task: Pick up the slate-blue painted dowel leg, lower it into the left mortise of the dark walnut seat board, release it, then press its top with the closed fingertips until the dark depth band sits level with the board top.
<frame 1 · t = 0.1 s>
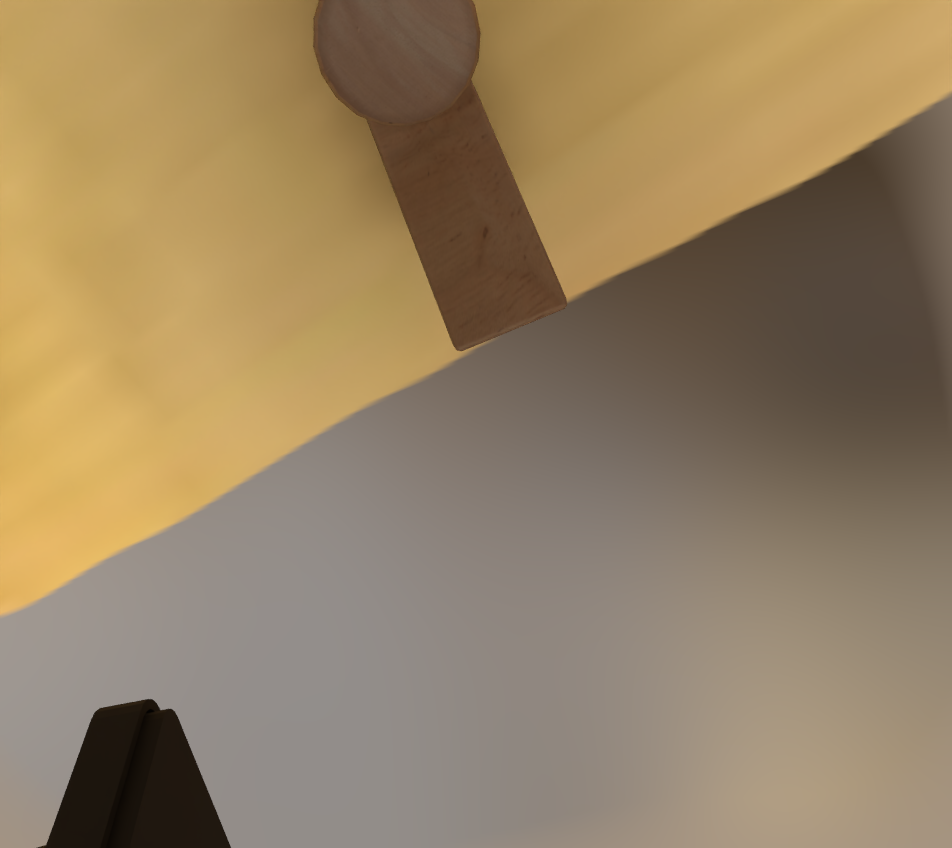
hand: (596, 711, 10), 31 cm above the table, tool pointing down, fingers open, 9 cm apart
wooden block: (416, 89, 37), on the table
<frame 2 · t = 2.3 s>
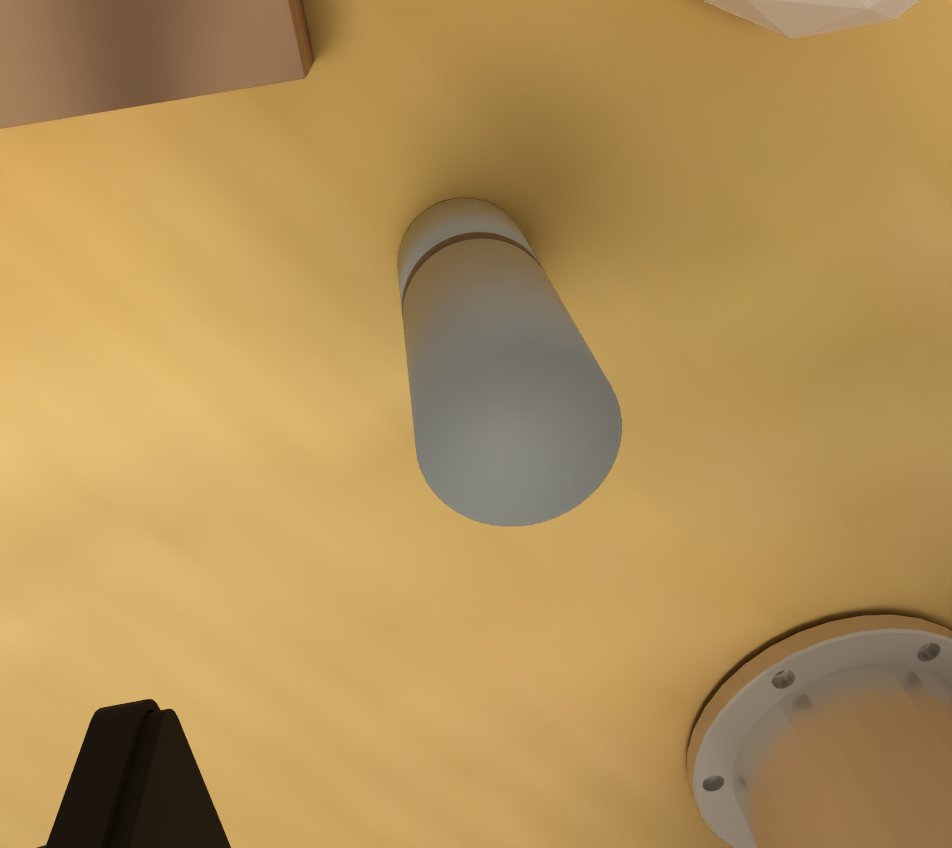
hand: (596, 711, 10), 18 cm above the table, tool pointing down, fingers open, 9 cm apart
peg: (463, 263, 26), on the table
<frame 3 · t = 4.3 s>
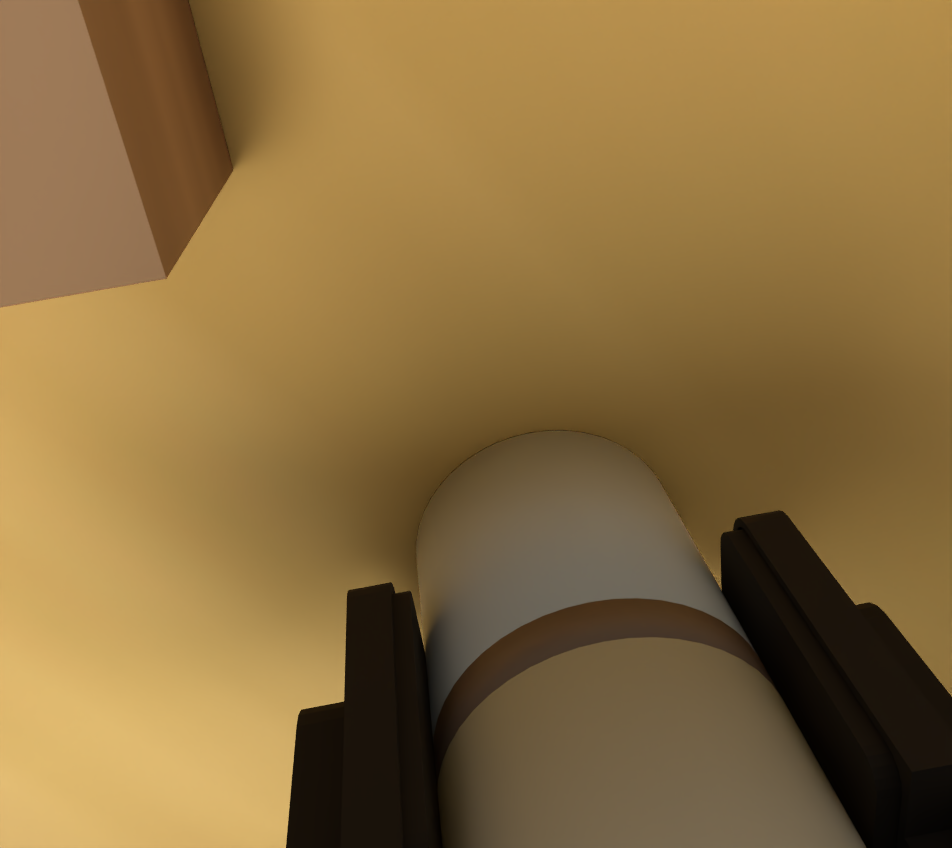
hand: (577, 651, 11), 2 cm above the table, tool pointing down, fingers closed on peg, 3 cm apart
peg: (545, 545, 13), on the table, touching gripper
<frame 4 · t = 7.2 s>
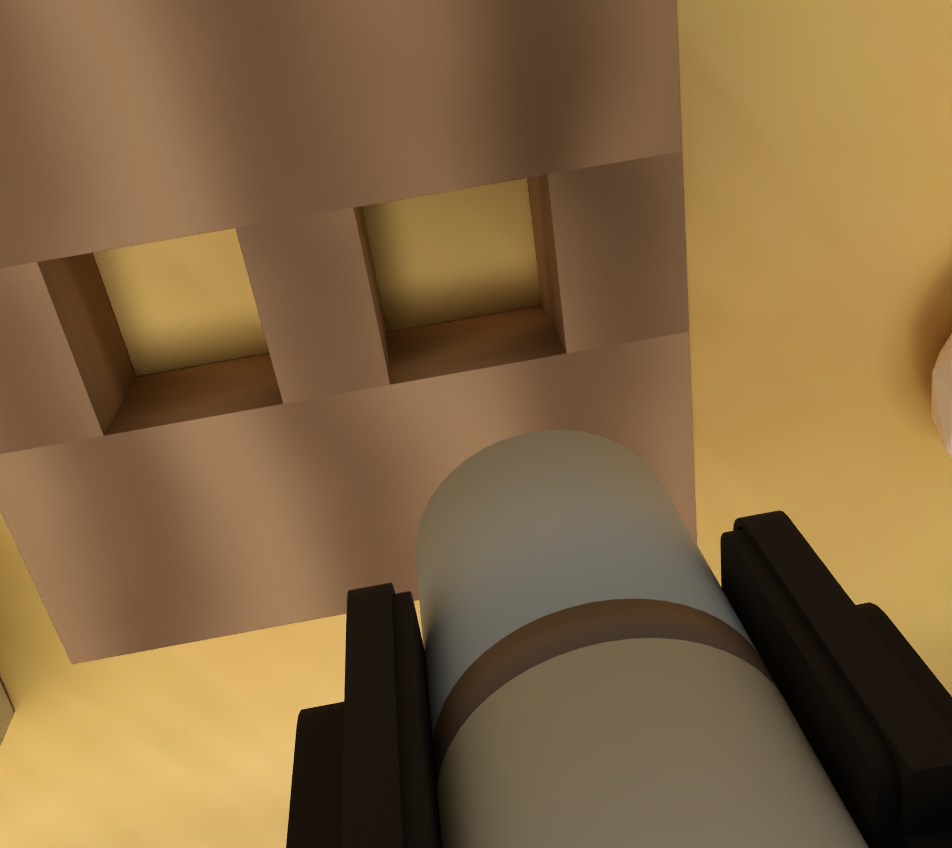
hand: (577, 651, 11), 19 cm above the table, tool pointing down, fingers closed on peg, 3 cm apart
peg: (545, 545, 13), point 16 cm above the table, touching gripper
board: (322, 265, 28), on the table
when the fingers open (4 cm above the table, at t = 9.9 s): peg drops 2 cm, resting in board.
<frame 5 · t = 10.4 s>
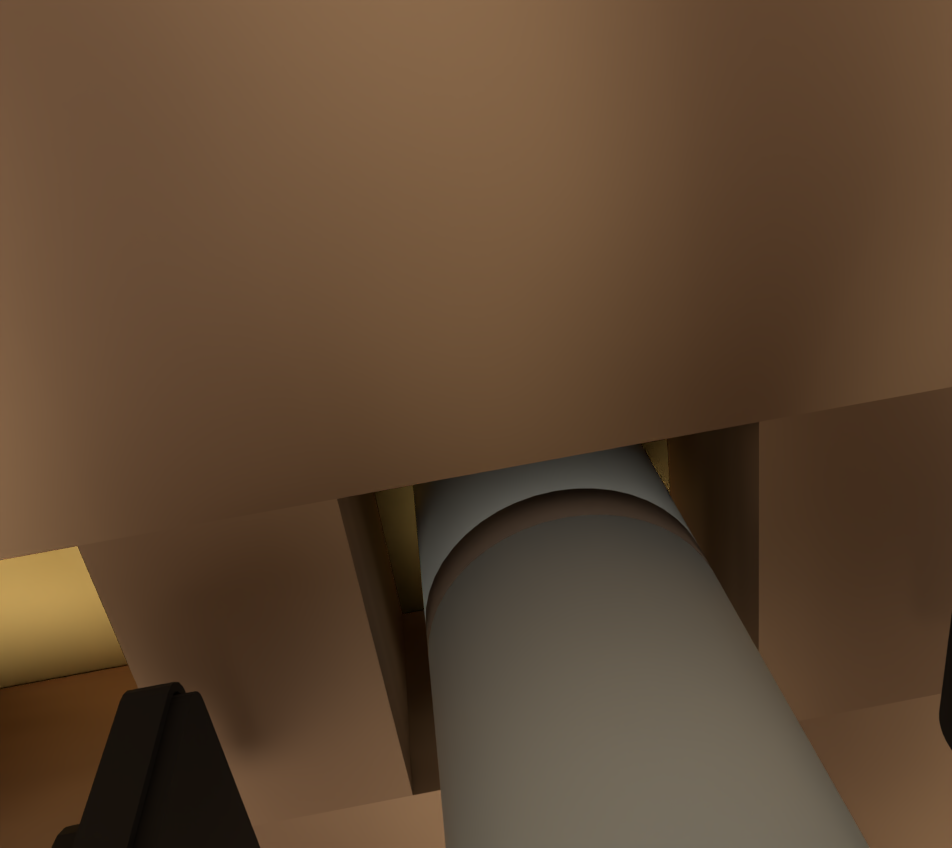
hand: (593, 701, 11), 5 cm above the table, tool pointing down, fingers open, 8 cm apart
peg: (525, 471, 15), resting in board
board: (286, 514, 15), on the table
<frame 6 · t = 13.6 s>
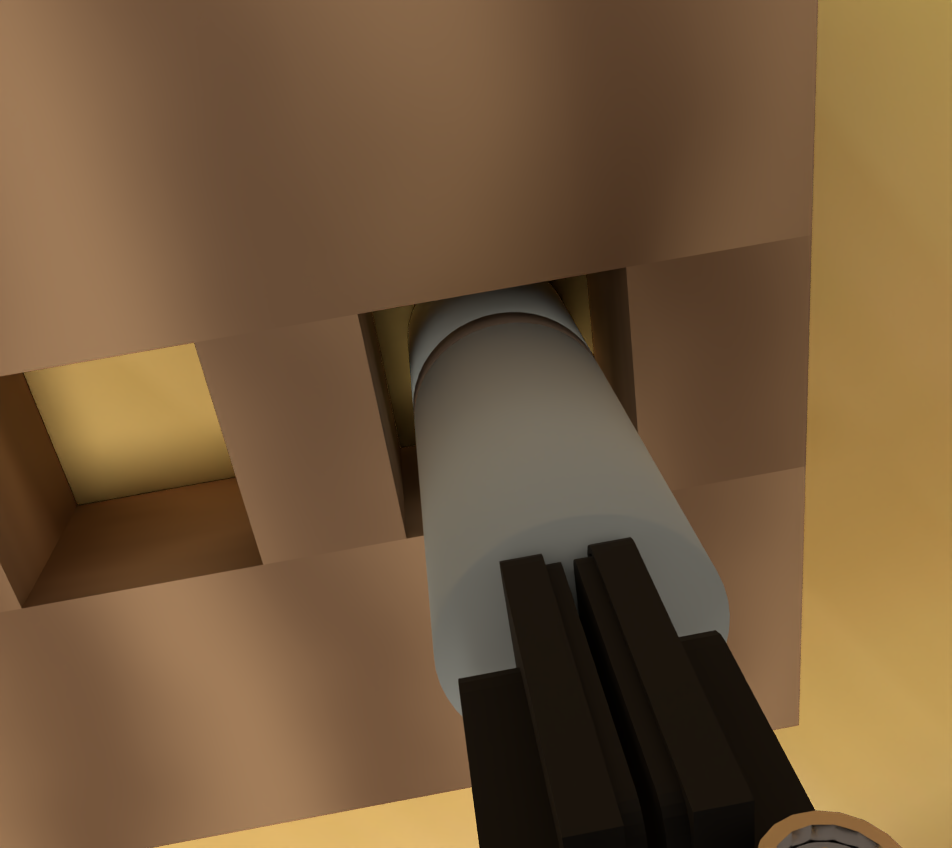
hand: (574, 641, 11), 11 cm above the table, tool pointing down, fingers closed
peg: (488, 337, 21), resting in board, touching gripper
board: (317, 366, 21), on the table
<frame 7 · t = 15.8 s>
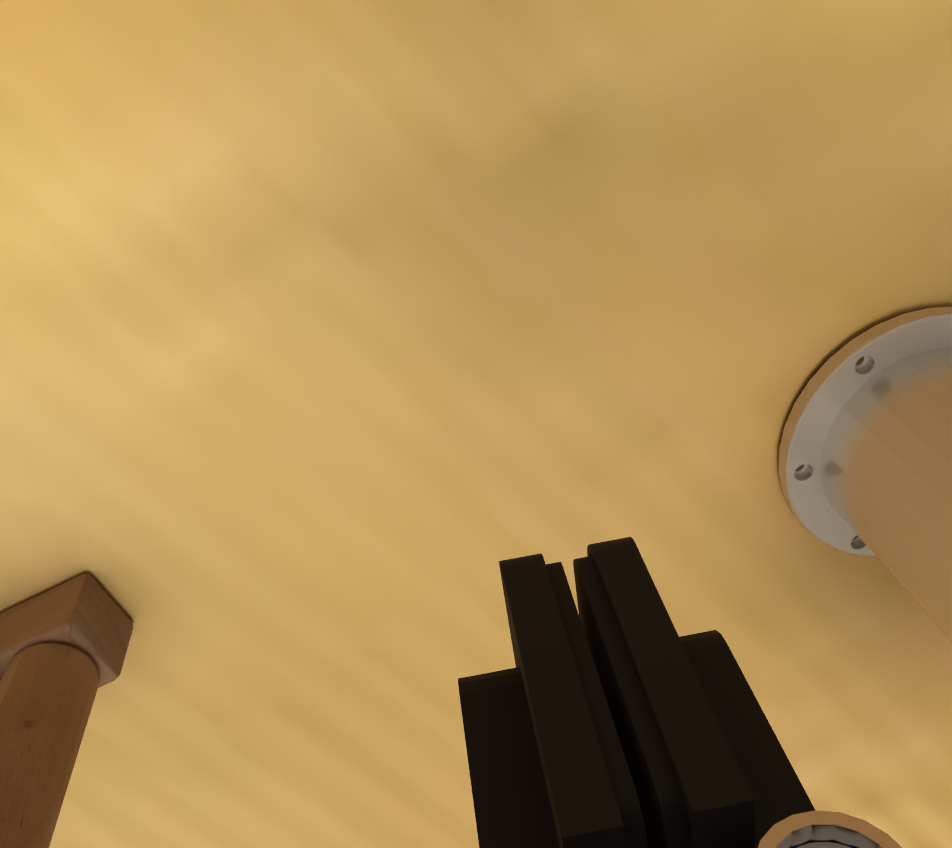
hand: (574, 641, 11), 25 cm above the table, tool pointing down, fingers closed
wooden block: (11, 642, 41), on the table
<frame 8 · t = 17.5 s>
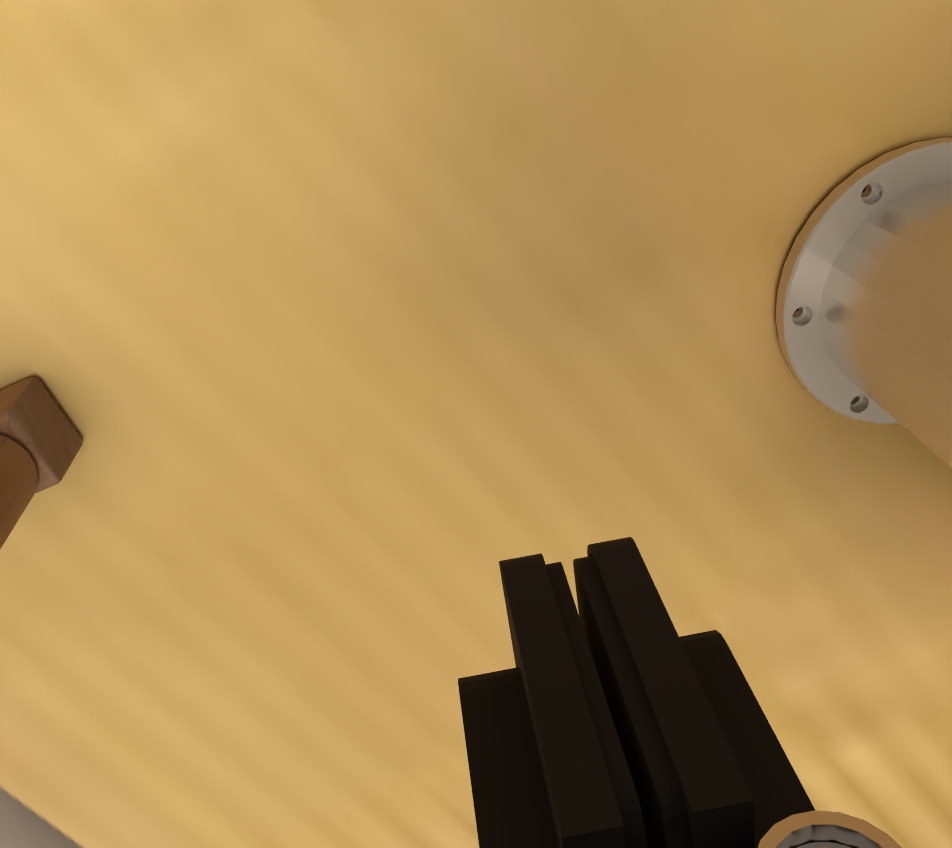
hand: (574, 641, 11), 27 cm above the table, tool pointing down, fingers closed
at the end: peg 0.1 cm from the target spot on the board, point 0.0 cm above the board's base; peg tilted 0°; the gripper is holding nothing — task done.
